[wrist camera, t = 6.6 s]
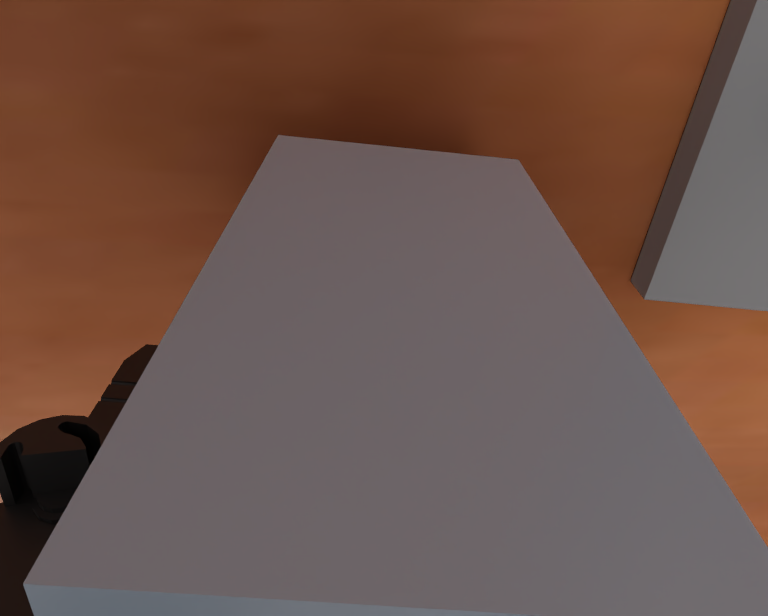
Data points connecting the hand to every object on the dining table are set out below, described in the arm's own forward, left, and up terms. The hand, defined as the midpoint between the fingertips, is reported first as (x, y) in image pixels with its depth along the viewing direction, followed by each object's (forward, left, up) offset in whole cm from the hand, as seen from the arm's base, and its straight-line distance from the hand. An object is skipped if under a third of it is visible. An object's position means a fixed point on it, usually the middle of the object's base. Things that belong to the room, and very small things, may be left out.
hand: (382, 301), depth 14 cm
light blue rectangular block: (0, 0, 0) cm, 0 cm away
